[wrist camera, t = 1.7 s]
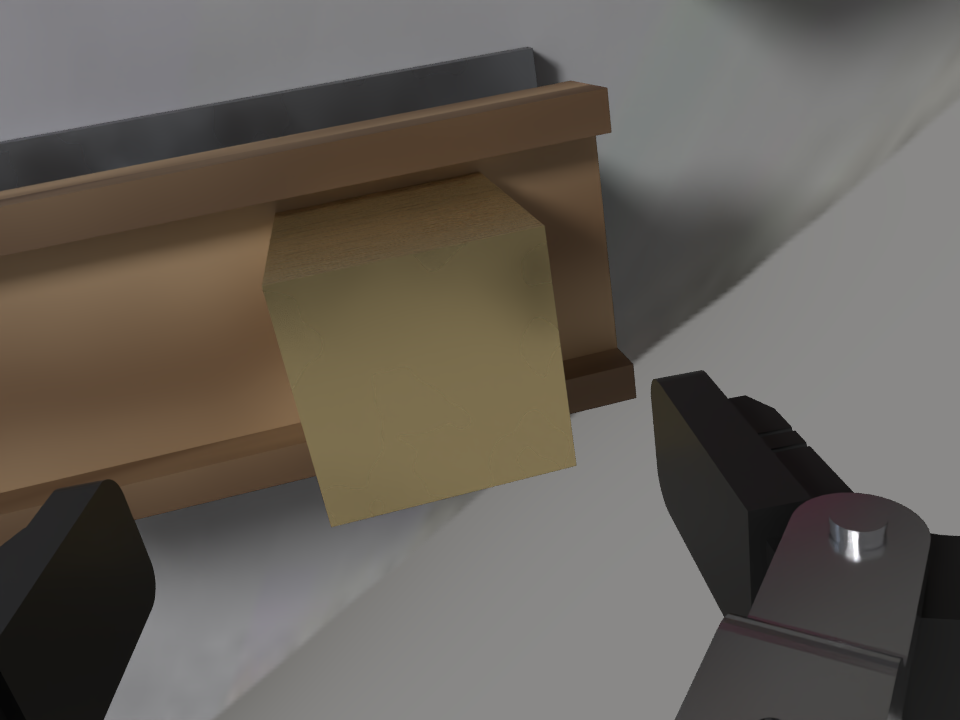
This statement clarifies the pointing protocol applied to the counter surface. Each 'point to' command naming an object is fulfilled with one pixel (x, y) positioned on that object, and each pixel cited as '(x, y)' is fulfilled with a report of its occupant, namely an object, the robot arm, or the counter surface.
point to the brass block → (419, 343)
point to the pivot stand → (260, 117)
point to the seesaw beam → (250, 294)
